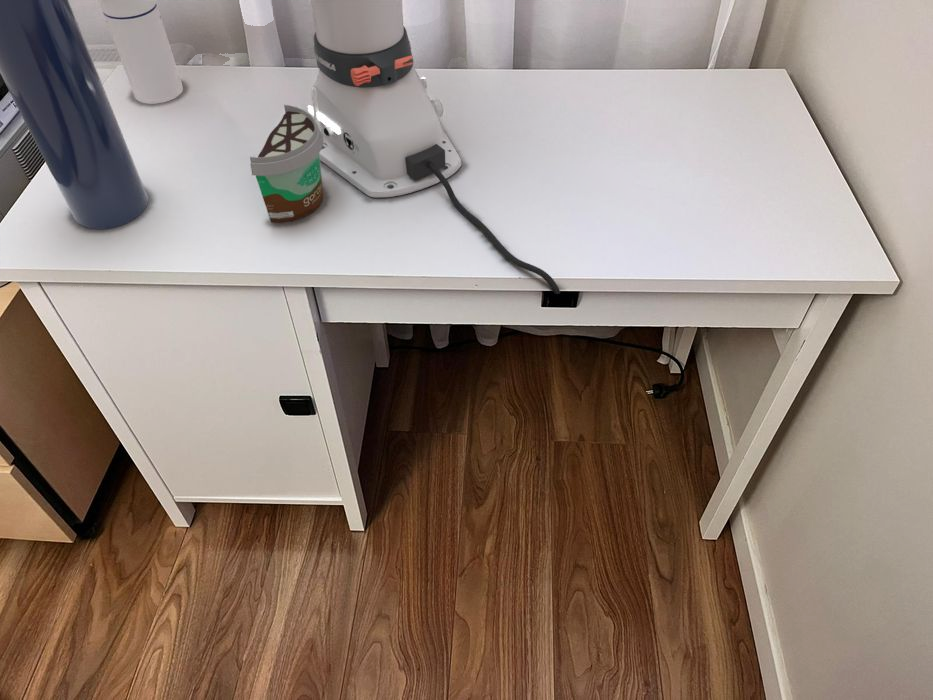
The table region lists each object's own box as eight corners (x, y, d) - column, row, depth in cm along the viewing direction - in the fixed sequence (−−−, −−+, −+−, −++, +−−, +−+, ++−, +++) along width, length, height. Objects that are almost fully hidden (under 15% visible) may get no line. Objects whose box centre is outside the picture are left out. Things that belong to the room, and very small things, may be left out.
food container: (315, 235, 88) (300, 165, 81) (266, 230, 89) (248, 159, 81) (344, 176, 96) (334, 107, 89) (299, 171, 97) (285, 102, 89)
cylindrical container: (127, 103, 108) (55, -83, 89) (143, 78, 113) (78, -104, 94) (175, 104, 108) (113, -83, 89) (188, 79, 113) (132, -103, 94)
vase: (156, 213, 91) (25, -115, 64) (82, 238, 88) (-90, -96, 61) (137, 177, 96) (8, -142, 69) (66, 198, 93) (-99, -126, 66)
